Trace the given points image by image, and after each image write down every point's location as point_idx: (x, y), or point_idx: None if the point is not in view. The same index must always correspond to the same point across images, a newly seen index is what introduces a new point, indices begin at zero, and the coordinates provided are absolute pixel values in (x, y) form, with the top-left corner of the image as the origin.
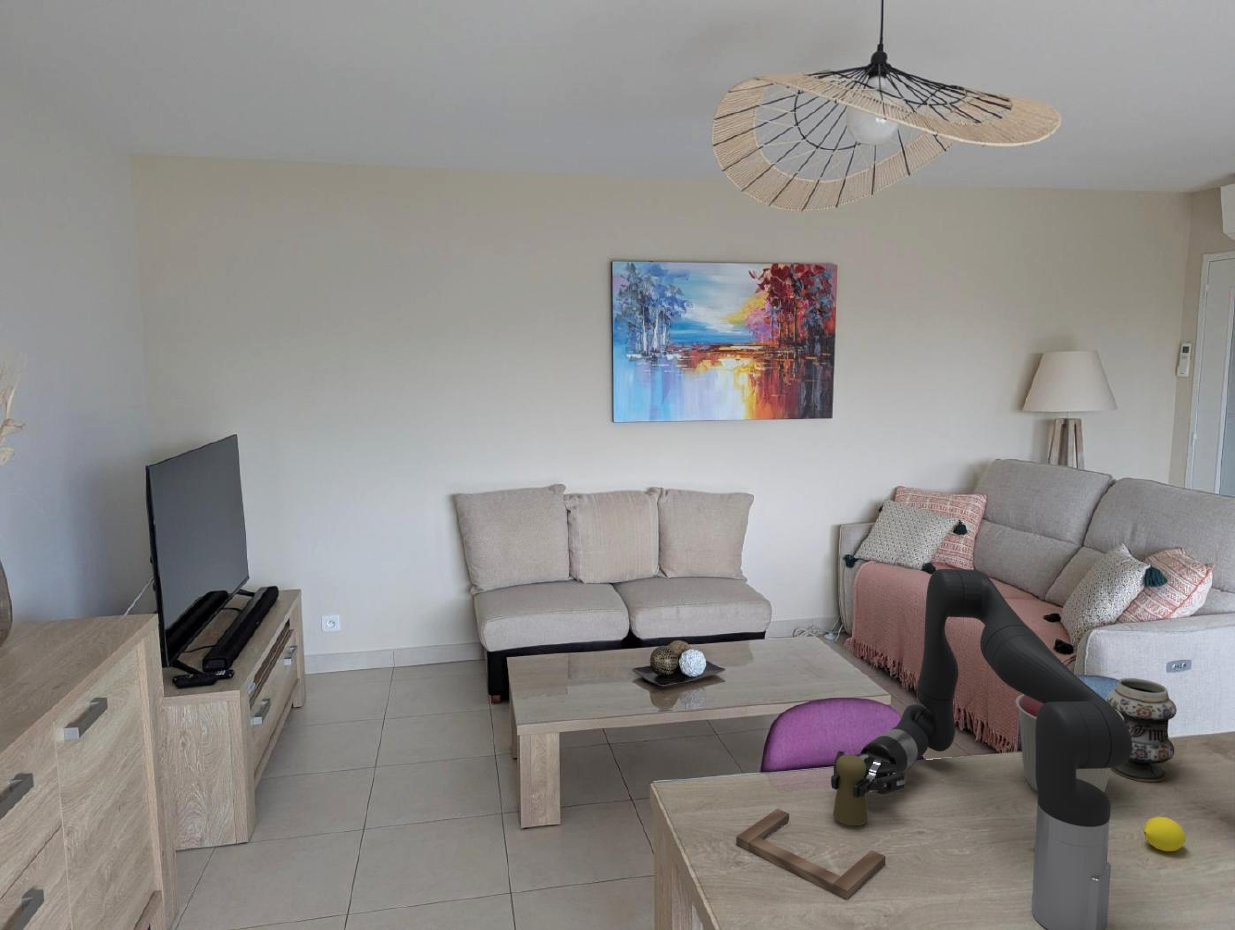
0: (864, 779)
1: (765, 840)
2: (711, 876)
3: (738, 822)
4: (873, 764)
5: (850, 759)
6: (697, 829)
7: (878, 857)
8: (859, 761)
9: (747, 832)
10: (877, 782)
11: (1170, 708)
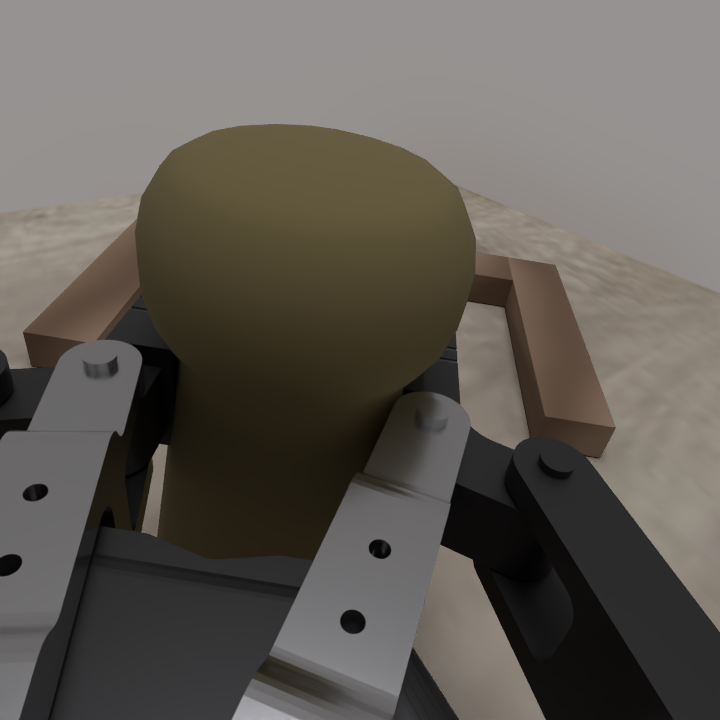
0: (157, 333)
1: (477, 274)
2: (487, 212)
3: (651, 368)
4: (49, 598)
5: (315, 130)
6: (684, 305)
7: (57, 316)
8: (211, 142)
9: (550, 284)
10: (10, 376)
11: None
